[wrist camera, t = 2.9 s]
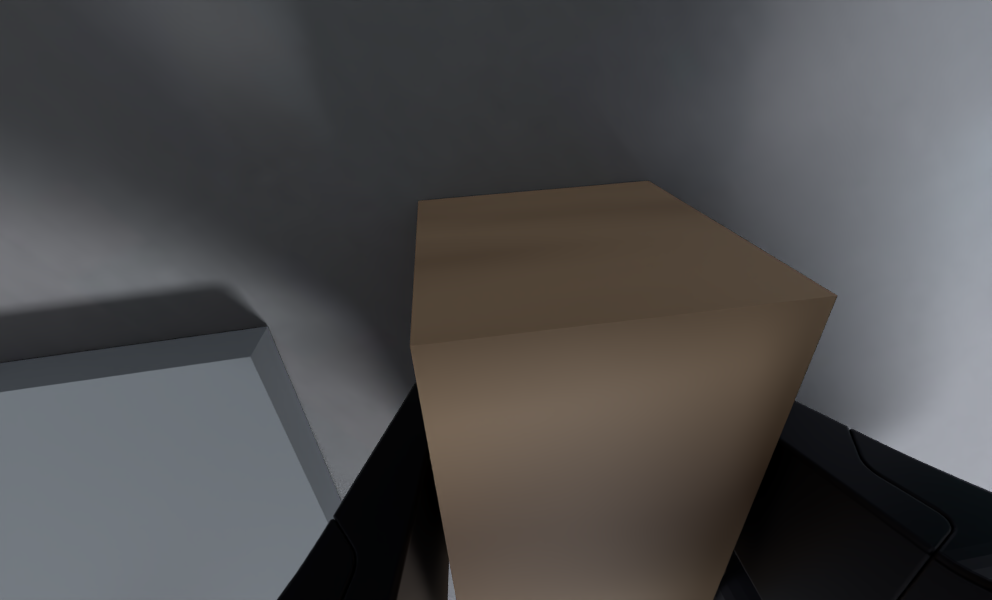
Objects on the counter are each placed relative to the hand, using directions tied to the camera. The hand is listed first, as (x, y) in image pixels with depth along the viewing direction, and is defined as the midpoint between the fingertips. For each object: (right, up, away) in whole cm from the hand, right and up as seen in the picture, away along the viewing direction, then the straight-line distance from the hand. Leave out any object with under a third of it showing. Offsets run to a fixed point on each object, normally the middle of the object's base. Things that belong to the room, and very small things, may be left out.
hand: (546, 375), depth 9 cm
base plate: (-11, -4, +2) cm, 12 cm away
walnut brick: (0, 0, +1) cm, 1 cm away
